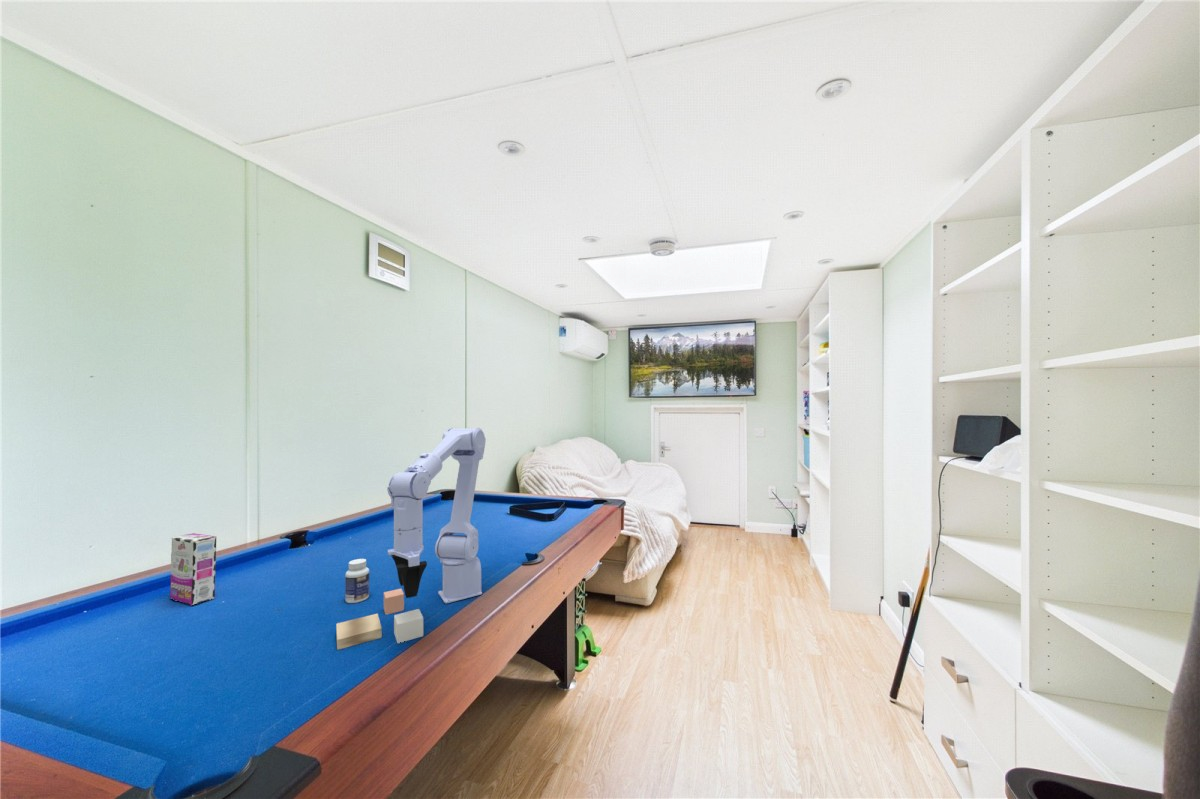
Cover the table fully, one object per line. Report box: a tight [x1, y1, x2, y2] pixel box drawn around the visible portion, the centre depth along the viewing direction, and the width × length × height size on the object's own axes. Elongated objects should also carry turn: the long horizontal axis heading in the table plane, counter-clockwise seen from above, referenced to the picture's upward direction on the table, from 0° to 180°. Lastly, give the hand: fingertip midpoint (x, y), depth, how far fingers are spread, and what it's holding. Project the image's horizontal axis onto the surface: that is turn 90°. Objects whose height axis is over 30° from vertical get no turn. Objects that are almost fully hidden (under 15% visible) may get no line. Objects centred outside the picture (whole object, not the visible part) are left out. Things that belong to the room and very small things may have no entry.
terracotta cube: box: [383, 588, 405, 616], centre depth 101 cm, size 4×4×4 cm
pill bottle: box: [344, 558, 370, 604], centre depth 107 cm, size 5×5×10 cm
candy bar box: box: [169, 532, 217, 606], centre depth 109 cm, size 11×5×16 cm, turn 68°
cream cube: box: [393, 608, 424, 644], centre depth 89 cm, size 5×5×4 cm
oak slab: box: [335, 613, 383, 651], centre depth 89 cm, size 8×8×2 cm
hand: (408, 590), depth 90 cm, fingers open, 7 cm apart
